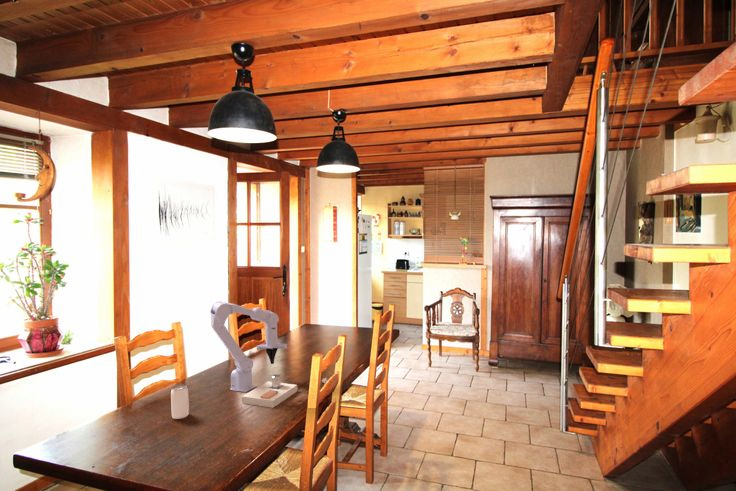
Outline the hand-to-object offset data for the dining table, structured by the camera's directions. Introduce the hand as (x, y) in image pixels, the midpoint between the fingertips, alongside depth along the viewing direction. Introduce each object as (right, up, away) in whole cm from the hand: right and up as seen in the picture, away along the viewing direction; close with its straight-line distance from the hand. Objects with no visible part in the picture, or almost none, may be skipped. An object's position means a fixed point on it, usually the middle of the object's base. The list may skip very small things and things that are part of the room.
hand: (272, 363), depth 215 cm
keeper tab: (+4, -7, -25) cm, 27 cm away
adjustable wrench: (+26, -10, -10) cm, 30 cm away
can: (-29, -12, -37) cm, 49 cm away
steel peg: (+5, -10, -14) cm, 18 cm away
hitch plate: (+3, -10, -19) cm, 22 cm away
